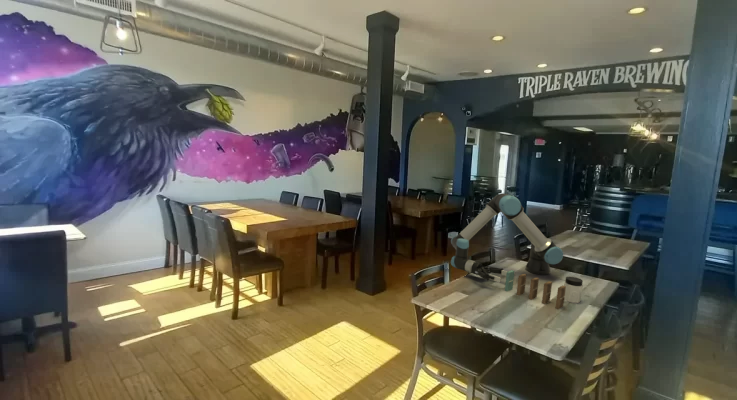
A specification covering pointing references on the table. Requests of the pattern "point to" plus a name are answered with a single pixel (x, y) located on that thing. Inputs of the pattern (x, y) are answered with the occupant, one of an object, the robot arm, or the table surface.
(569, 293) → the jar
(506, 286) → the domino teal
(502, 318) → the table surface
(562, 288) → the domino
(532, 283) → the domino
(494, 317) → the table surface
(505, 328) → the table surface
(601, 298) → the table surface
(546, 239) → the robot arm
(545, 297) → the domino
